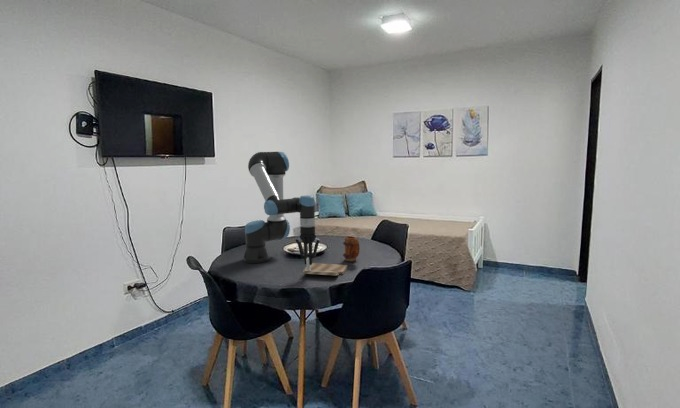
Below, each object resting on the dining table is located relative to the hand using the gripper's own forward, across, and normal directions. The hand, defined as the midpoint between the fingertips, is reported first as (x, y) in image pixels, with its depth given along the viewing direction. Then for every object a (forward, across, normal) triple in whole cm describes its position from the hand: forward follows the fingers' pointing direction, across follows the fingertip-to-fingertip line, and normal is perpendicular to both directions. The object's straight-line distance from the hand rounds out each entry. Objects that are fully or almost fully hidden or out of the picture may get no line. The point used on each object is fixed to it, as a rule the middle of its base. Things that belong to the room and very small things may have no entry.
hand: (308, 270), depth 194 cm
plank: (+3, +6, +3) cm, 7 cm away
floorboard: (+4, +6, +13) cm, 15 cm away
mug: (+4, +18, +30) cm, 35 cm away
